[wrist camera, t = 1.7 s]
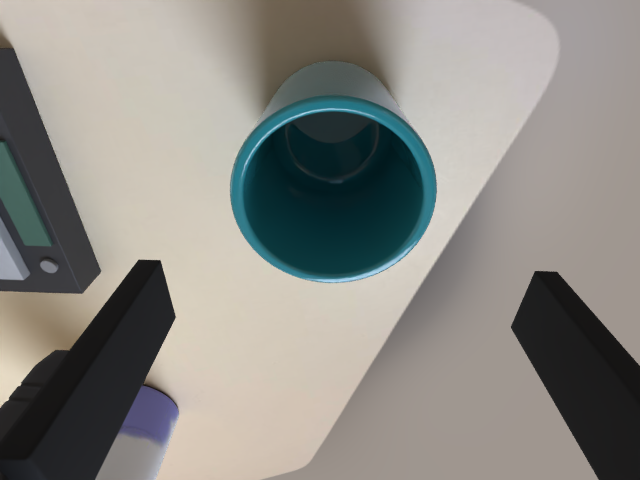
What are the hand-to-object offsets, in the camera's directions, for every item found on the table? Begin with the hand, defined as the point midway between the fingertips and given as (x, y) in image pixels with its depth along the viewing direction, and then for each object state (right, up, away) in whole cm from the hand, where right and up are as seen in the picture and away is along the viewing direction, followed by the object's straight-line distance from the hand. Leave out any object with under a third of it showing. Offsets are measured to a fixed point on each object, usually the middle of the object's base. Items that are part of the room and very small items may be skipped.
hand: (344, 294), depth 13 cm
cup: (+1, +9, +13) cm, 16 cm away
